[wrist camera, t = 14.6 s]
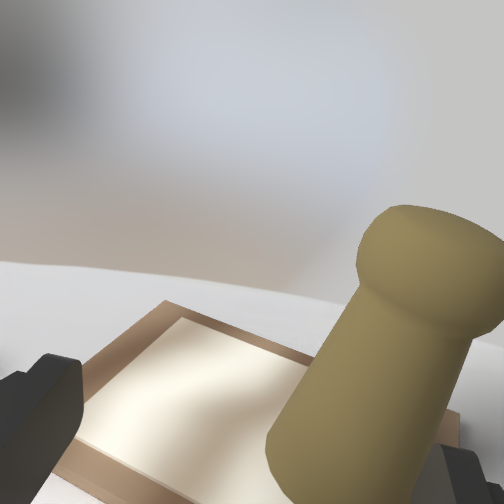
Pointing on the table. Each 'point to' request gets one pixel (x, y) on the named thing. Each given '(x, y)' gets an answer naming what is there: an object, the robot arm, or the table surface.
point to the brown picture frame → (186, 413)
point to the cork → (389, 361)
